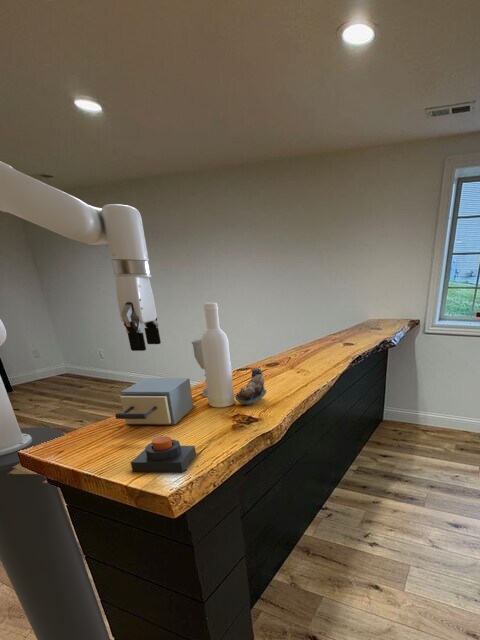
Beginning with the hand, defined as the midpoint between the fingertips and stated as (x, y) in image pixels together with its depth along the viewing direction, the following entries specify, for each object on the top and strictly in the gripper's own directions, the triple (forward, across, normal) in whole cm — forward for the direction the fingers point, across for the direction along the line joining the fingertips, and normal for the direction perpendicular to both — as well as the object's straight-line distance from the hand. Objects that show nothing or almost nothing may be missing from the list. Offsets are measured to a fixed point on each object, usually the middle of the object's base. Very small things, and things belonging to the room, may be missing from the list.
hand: (146, 347), depth 85 cm
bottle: (+21, -17, +13) cm, 30 cm away
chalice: (+21, -28, +7) cm, 35 cm away
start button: (+17, +22, +8) cm, 29 cm away
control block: (+20, +22, +8) cm, 32 cm away
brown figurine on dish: (+21, -18, +22) cm, 35 cm away
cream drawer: (+20, -2, -3) cm, 20 cm away
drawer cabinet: (+20, -7, -2) cm, 22 cm away
